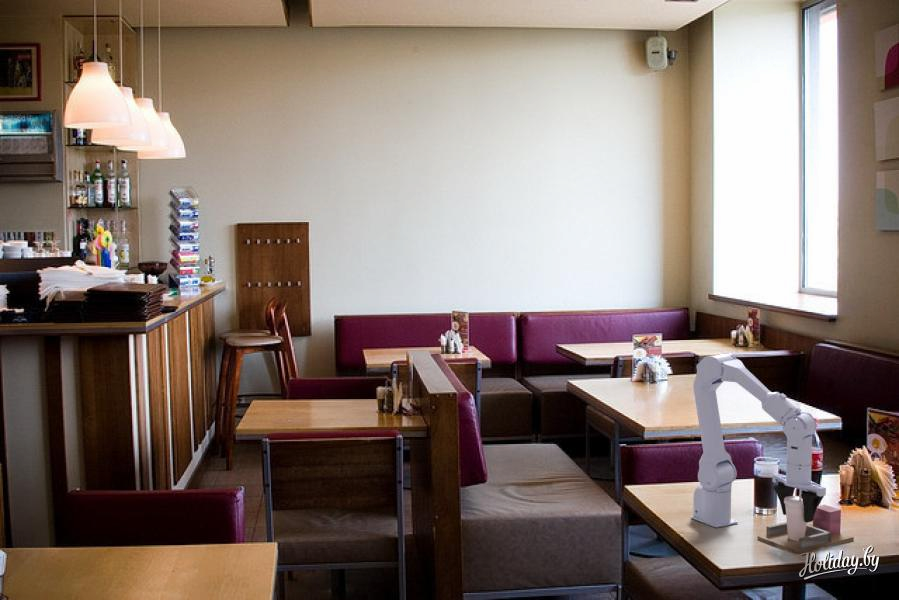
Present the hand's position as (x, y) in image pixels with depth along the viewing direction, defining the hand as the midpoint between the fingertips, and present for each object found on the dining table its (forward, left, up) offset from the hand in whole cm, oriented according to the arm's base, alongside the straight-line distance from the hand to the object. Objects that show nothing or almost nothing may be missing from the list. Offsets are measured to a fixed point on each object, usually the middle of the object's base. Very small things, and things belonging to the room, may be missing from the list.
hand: (797, 517), depth 225 cm
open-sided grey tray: (0, +3, -6) cm, 7 cm away
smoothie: (0, 0, -5) cm, 5 cm away
